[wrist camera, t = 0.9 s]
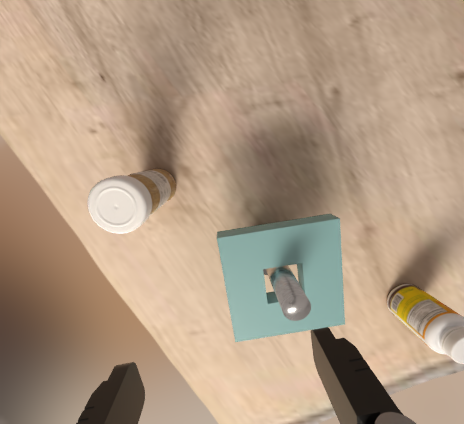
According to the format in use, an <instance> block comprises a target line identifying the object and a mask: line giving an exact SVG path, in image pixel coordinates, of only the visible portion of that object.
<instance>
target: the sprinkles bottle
mask: <svg viewBox="0 0 464 424" xmlns="http://www.w3.org/2000/svg"><path fill="white" fill-rule="evenodd" d="M175 191H176V183H175V180H174V178H173V176H172V175H171V174H170V173H168V172H167V171H165V170H162V169H152V170H149V171H143V172H138V173H133V174H130V175H128V176H122V175H121V176H114V177H110V178H106V179H104V180H101V181H100V182H98V183H97V184H96V185H95V186H94V187H93V188H92V190H91V191H90V194H89V196H88V210H89V213H90V215H91V217H92V219H93V220H94V221H95V223H96V224H97V225H98V226H100V227H101V228H103V229H104V230H106V231H109V232H112V233H117V234H122V233H128V232H131V231H133V230H135V229H137V228H138V227H139V226H141V225H142V224H143V223H144V222H145V221H146V220H147V219H148V218H149V216H150V215H151V214H152V213H154V212H155V211H156V210H157V209H158V208H160V207H161V206H162V205H163V204H164V203H165V202H166V201H168V200H170V199H171V198H172V197H173V195H174V194H175Z"/></svg>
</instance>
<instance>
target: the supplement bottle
mask: <svg viewBox="0 0 464 424" xmlns="http://www.w3.org/2000/svg"><path fill="white" fill-rule="evenodd" d="M387 306H388V308H389V310H390V312H391V313H392V314H393V315H395V316H396V317H397V318H398V319H399V320H400V321H401V322H402V323H403V324H404V325H406V326H407V327H408V328H409V329H410V330H411V331H412V332H413V333H414V334H415V335H416V336H418V337H419V338H420V339H421V340H422V341H423V342H424V343H425V344H426V345H427V346H428V347H430V348H431V349H432V350H433V351H435V352H437V353H440V354H447V355H448V356H450V357H451V358H452V359H453V360H454V361H456V362H457V363H461V364H464V317H462V316H461V315H459V314H458V313H456V312H455V311H453V310H452V309H450V308H449V307H447V306H446V305H444V304H443V303H441V302H440V301H438V300H437V299H435V298H434V297H432V296H431V295H429V294H428V293H426V292H424V291H423V290H421V289H420V288H418V287H417V286H414V285H411V284H403V285H400V286H397V287H396V288H394V289H393V290H392V291H391V292H390V294H389V296H388V298H387Z"/></svg>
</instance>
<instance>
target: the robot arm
mask: <svg viewBox="0 0 464 424" xmlns="http://www.w3.org/2000/svg"><path fill="white" fill-rule="evenodd" d="M311 339H312V348H313V356H314V361H315V365H316V368H317V371H318V374H319V376H320V378H321V381H322V383H323V385H324V388H325V390H326V392H327V394H328V397H329V399H330V401H331V404H332V406H333V408H334V410H335V413H336V415H337V417H338V420H339V422H340V424H416V423H415V422H414V421H412V420H411V419H409V418H408V417H406V416H404V415H403V414H402V413H401V412H400V410H399V409H398V408H397V406H396V405H395V404H394V402H393V400H392V399H391V397H390V396H389V395H388V393H387V392H386V390H385V389H384V387H383V386H382V384H381V383H380V382H379V380H378V379H377V377H376V376H375V374H374V373H373V371H372V370H370V367H369V366H368V364H367V363H366V361H365V360H364V359H363V357H362V355H361V354H360V353H359V351H358V350H357V348H356V347H355V346H354V345H353V344H351V343H350V342H349V341H348V340H346V339H345V338H340V339H335V337H334V335H333V334H332V332H331V331H330V329H329V328H328V327H325V328H319V329H314V330H311ZM144 400H145V390H144V386H143V383H142V380H141V378H140V374H139V372H138V369H137V366H136V364H135V363H134V362H132V363H126V364H122V365H116V366H115V367H114V369H113V371H112V373H111V375H110V377H109V379H108V381H103V382H102V383H101V384H100V386H99V387H98V388H97V389H96V390H95V391H94V393H93V394H92V395H91V397H90V399H89V401H88V403H87V405H86V406H85V410H84V411H83V412H82V414H81V416H80V417H79V420H78V423H76V424H138V421H139V418H140V415H141V411H142V409H143V405H144Z"/></svg>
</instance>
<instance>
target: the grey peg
mask: <svg viewBox="0 0 464 424" xmlns="http://www.w3.org/2000/svg"><path fill="white" fill-rule="evenodd" d="M263 273H264V274H265V275H268V276H269V279H270V281H271V284H272V286H273V289H274V291H275V294H276V296H277V299H278V301H279V304H280V307H281V309H282V312H283V314H284V316H285V317H286V318H287V319H289V320H292V321H299V320H302V319H304V318H305V317H307V316H308V314H309V313H310V311H311V303H310V301H309V299H308V298H307V296H306V294H305V293H304V291H303V290H302V288H301V286H300V285H299V283H298V281H297V280H296V278H295V276H294V275H293V273H292V271H291V270H290V268H289V266H288V265H286V266H280V267H274V268H268V269H263Z"/></svg>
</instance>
